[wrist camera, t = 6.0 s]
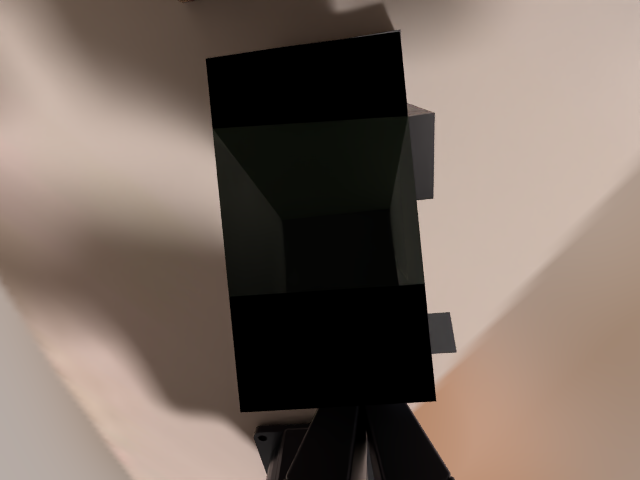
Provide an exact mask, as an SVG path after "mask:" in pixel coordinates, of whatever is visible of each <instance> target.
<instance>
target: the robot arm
mask: <svg viewBox="0 0 640 480" xmlns="http://www.w3.org/2000/svg"><path fill="white" fill-rule="evenodd" d="M254 440H255V443H256V446H257V448H258V451H259V454H260V457H261V460H262V462H263V465H264V468H265V471H266V474H267V478H266V480H455V479H454V478H453V477H450V472H449V470H448V468H447V467H446V465H445V464H444V462H443V460H442V459H441V457H440V456H439V454H438V452H437V451H436V449H435V448H434V446H433V445H432V443H431V441H430V440H429V438H428V437H427V435H426V433H425V432H424V430H423V429H422V427H421V425H420V424H419V422H418V421H417V419H416V417H415V416H414V414H413V413H412V411H411V409H410V408H409V406H408V405H407V403H397V404H379V405H362V406H344V407H327V408H318V409H317V411H316V413H315V415H314V418H313V420H312V422H311V424H296V425H266V426H259V427H257V428H256V430H255V434H254Z"/></svg>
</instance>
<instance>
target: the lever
mask: <svg viewBox="0 0 640 480" xmlns="http://www.w3.org/2000/svg"><path fill="white" fill-rule="evenodd" d="M206 66H207V76H208V86H209V96H210V106H211V117H212V127H213V137H214V147H215V157H216V168H217V178H218V188H219V198H220V208H221V219H222V229H223V239H224V249H225V259H226V270H227V280H228V290H229V300H230V310H231V321H232V331H233V341H234V351H235V361H236V372H237V382H238V392H239V402H240V412H257V411H275V410H292V409H310V408H327V407H344V406H362V405H379V404H397V403H414V402H432V401H436V395H435V384H434V374H433V364H432V354H436V353H454V352H456V346H455V340H454V334H453V328H452V323H451V317H450V312H446V313H432V314H428V313H427V303H426V293H425V282H424V272H423V262H422V252H421V242H420V231H419V221H418V211H417V201H416V191H415V180H414V170H413V160H412V150H411V140H410V129H409V119H408V109H407V99H406V89H405V78H404V68H403V58H402V48H401V38H400V31H399V32H392V33H384V34H377V35H369V36H362V37H355V38H347V39H340V40H332V41H325V42H317V43H310V44H302V45H295V46H288V47H280V48H273V49H266V50H260V51H253V52H246V53H240V54H233V55H227V56H220V57H213V58H207V59H206Z"/></svg>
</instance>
